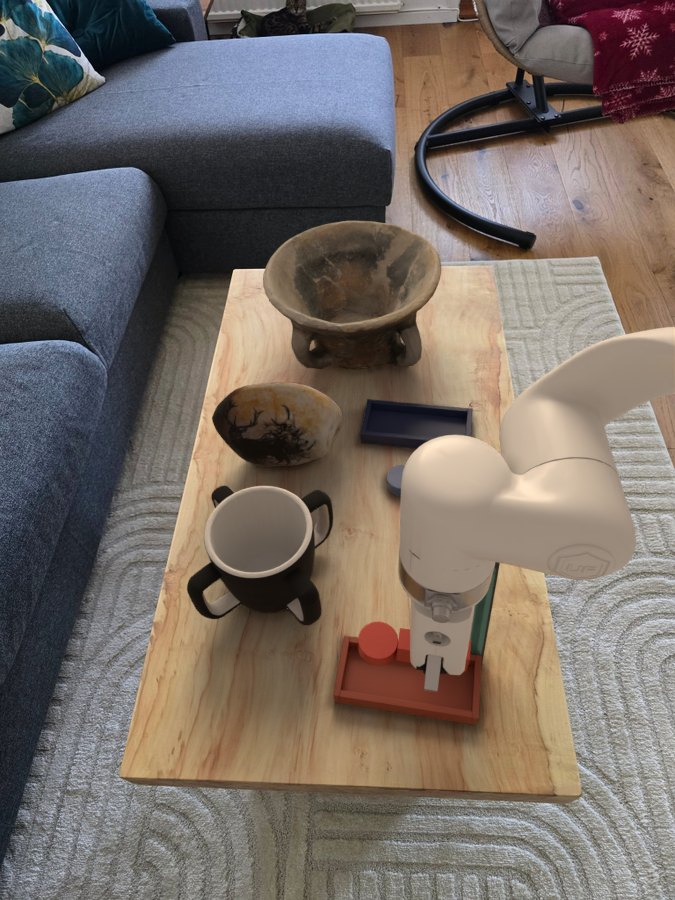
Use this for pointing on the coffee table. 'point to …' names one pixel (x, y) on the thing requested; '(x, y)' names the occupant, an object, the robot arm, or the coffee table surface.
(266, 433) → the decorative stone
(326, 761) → the coffee table surface
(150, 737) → the coffee table surface
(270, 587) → the mug
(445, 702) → the red tray
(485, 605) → the smartphone
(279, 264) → the bowl
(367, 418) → the blue tray
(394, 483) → the blue spoon
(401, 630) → the red spoon
